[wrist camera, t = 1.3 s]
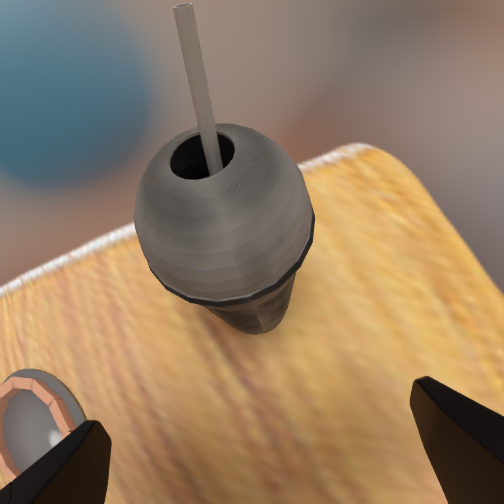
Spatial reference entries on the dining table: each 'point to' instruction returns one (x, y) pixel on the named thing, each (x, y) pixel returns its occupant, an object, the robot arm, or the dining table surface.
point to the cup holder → (34, 418)
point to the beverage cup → (223, 211)
